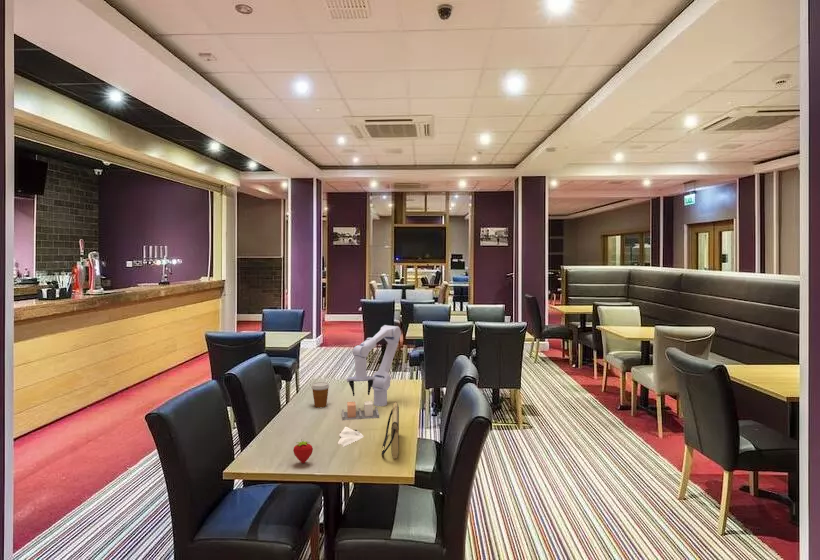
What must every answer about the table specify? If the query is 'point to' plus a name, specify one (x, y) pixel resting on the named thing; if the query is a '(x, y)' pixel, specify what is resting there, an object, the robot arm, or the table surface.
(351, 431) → the cloth
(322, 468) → the table surface
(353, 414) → the terracotta plug
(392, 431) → the clutch purse
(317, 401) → the disposable coffee cup
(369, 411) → the white plug
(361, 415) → the slot rack
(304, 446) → the strawberry
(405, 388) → the table surface
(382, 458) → the table surface
